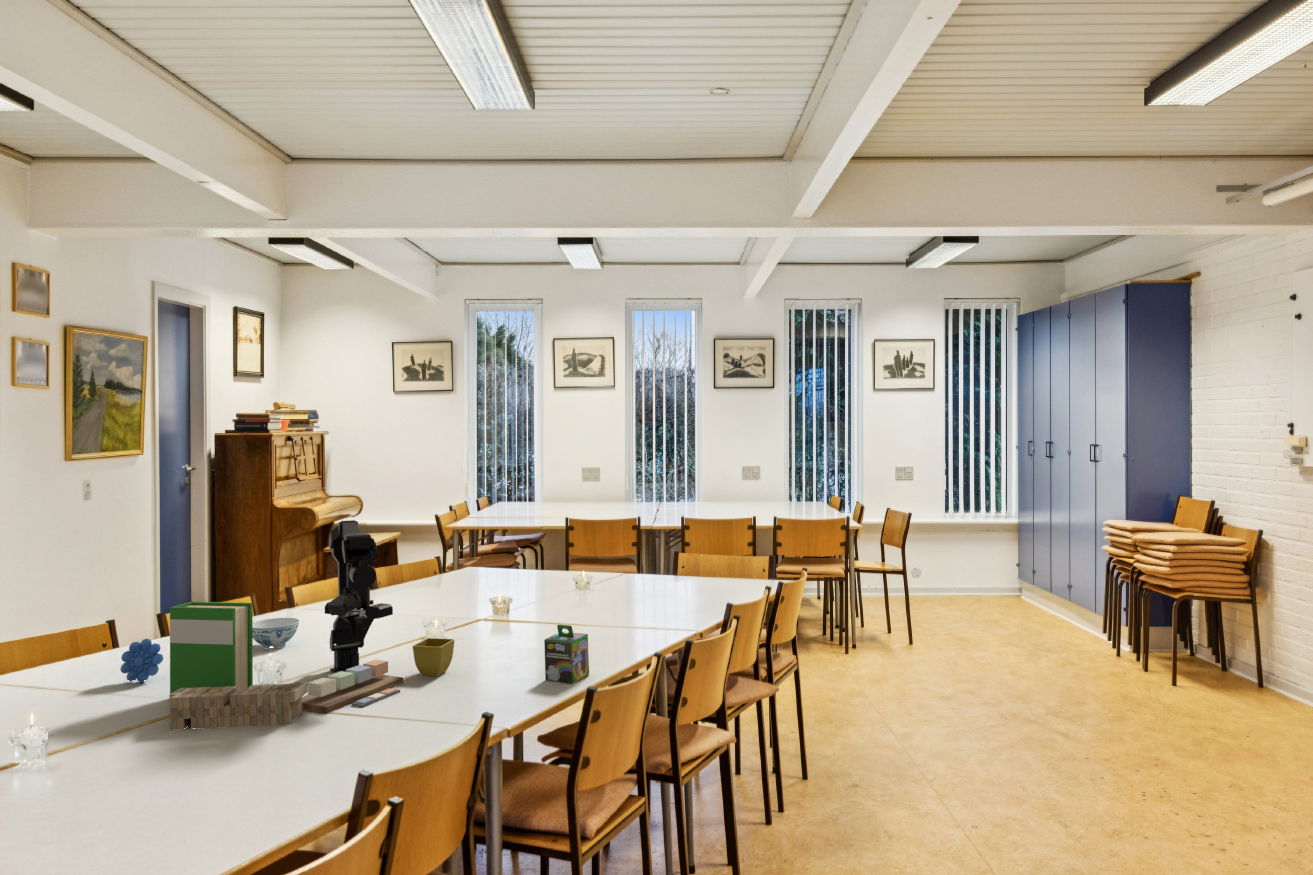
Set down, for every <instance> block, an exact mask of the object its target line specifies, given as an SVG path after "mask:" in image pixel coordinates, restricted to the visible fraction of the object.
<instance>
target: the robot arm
mask: <svg viewBox="0 0 1313 875" xmlns="http://www.w3.org/2000/svg"><path fill="white" fill-rule="evenodd" d="M337 523H338V524H337V526H336V527H334V528H333V529H332V530H331V531H330V533H329V538H328V547H329V550H331V556H332V557H333V559H334V561H336V563H337V593H338V594H337V597H335V598H334V599H332V600H330V601H328V602H327V603H326V604H325V605H324V614H325V615H326V614H327V615H330V616H336V618H335V620H334V622H333V624H332V629H331V630H330V637H329V649H330V651H331V652H333V662H334V663H333V667H331V668H330V669H329V671H330V672H335V673H338V672H340V671H343V672H346V669H349V668H352V667H355V666H358V665H361V664H360V652H359V648H364V646H365V639H366V636H367V634H368V631H369V629H370V628H371V626H372V624H373V622H374V620H377V619H382V618H385V617H389V616H392V615H393V614H394V609H393V608H394V607H393V606H392V604H390V603H382V602H379V603H376V604H374V599H371V590H374V583H375V581H376V579H377V573H376V570H375V569H374V568H373V566H371V562H376V561H377V558H378V556H379V554H378V549H377V548H378V547H377V542H376V541H375V539H374V538H373V537H372V535H371V534H370V533H368V532H362V529H361V528H360V527H359V522H358V521H357V520H355V519H352V520H351V519H350V520H341V521H338V522H337ZM361 666H363V664H362V665H361Z"/></svg>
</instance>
